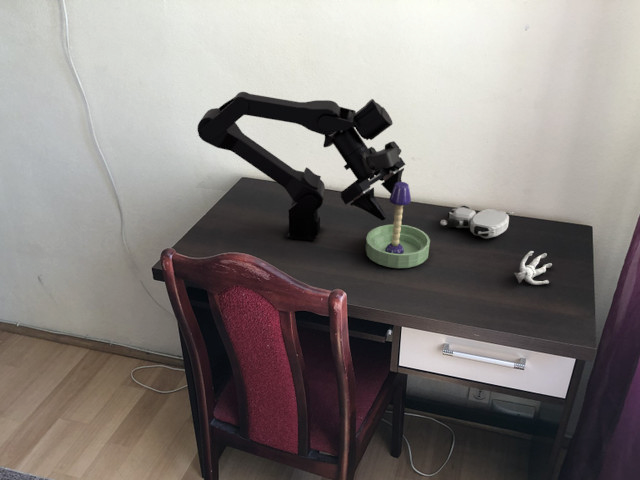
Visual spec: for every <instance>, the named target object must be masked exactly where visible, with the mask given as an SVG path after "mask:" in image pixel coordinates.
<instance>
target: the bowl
mask: <svg viewBox="0 0 640 480" xmlns="http://www.w3.org/2000/svg"><path fill="white" fill-rule="evenodd" d="M393 227H394V225H393V223H392V224H385V225H380V226H377V227H374V228H372V229H371V230H370V231H369V232H368V233H367V236H366V237H365V254H366V256H367V257H368V258H369V260H370V261H372V262H374V263H375V264H378V265H381V266H383V267H387V268H393V269H408V268H412V267H413V268H414V267H417V266H419V265H421V264H423V263H425V262H426V261H427V259H429V254H430V246H431V239H430V236H429V235H428V234H427V233H426V232H425V231H423V230H421V229H419V228H418V227H416V226H415V227H414V226H411V225H406V224H401V226H400V227H401V231H400V238H399V244H401V245H402V247H403V249H404V253H403V254H395V253H388V252H385V249H386V247H387V245H388V244H390V243H391V241H392V234H393Z"/></svg>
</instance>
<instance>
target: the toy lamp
mask: <svg viewBox="0 0 640 480" xmlns="http://www.w3.org/2000/svg"><path fill="white" fill-rule="evenodd" d="M411 200H412V198H411V191H410V186H409V183H407V182H405V181H402V182H397V183H396V184H395V185H394V188H393V190H392V193H390V195H389V203H391V204H393V205H395V207H394V216H393V219H394V220H393V223H392V224H393V225H394V227H393V234H392V241H391V243H390V244H388V245H387V247H386V249H385V252H388V253H395V254H403V253H404V249H403V247H402V245H401V244H399V238H400V231H401V227H400V226H401V225H402V220H403V213H404V206H408V205H410V204H411V202H412V201H411Z"/></svg>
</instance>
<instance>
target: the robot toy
mask: <svg viewBox="0 0 640 480" xmlns="http://www.w3.org/2000/svg"><path fill="white" fill-rule="evenodd" d="M514 213H515V212H513V211H509V212H505V211H504V210H498V209H493V208H487V209H483V210H481V211H479V212H477V211H475V210H474V209H471V208H470V207H468V206H467V205H458V206H456V207H455V208H452V209H451V210H450V211H448V212H447V220H446V219H441V220H440V225H441V226H447V228H456V229H457V228H458V229H462V228H464V229H469V231H470V232H471V233H472V234H473V235H474V236H477V237H478V236H479V237H480V238H483V239H490V238H495V237H498V236H500V235H501V234H503V233H504V232H506V231H507V229H508V228H509V222H510V216H509V215H514Z"/></svg>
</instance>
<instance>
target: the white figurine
mask: <svg viewBox="0 0 640 480" xmlns="http://www.w3.org/2000/svg"><path fill="white" fill-rule="evenodd" d="M533 253H535V251H534V250H530V251H528V252H527V254H525V255H524V257H523V258H522V260H521V261H520V264H519V272H514V273H513V274H514V275H515V277H516V279H517V281H518V283H519V284H520V283H522V281H523V280H524V281H525V282H526V283H528V284H531V285H533V286H539V285H546V284H547V285H548V284H549V283H550V281H549V280H548V279H546V280H543V281H540V280H534V279H533V278H534V277H537V276H540V275H541V274H544V273H546V271H547V268H551V267H552V266H553V264H552V262H549V263H547V264H543V265H542V267H540V268H537V265H539V263H540V260H541V259H544V258H546V257H547V255H548V254H547V253H546V252H544V253H542V254H540V255H538V256H536V257H535V258H533V259H532V261H531V262H530V263H529V264H528V265H526V263H527V260H528V259H529V257H530V256H531V257H532V255H533Z"/></svg>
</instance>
